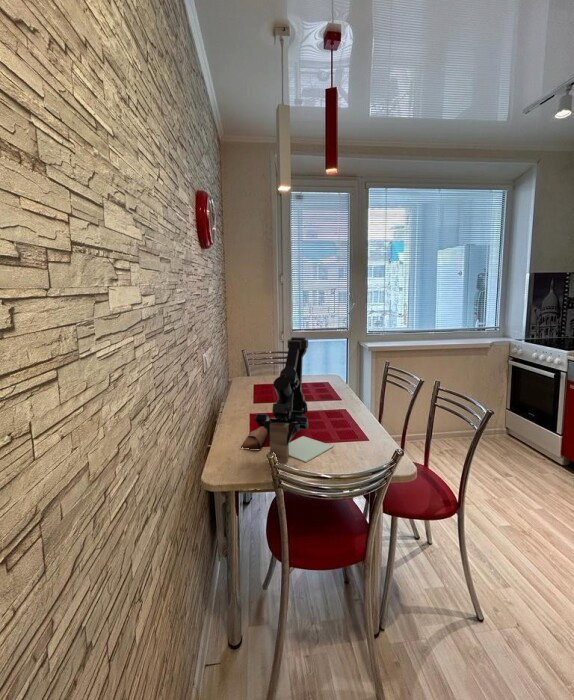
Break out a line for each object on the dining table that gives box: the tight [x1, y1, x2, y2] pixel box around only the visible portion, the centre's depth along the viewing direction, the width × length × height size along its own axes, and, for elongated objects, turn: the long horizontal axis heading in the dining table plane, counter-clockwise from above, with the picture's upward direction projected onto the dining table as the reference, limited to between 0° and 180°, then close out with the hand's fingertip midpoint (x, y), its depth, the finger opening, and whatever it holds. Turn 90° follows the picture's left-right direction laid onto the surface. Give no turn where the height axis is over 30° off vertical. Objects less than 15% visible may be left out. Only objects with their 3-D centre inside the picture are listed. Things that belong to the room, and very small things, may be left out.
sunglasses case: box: [240, 426, 268, 450], centre depth 148 cm, size 18×7×7 cm
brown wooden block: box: [269, 423, 290, 464], centre depth 130 cm, size 4×6×13 cm, turn 79°
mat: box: [289, 435, 335, 463], centre depth 140 cm, size 17×15×1 cm
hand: (278, 443), depth 129 cm, fingers closed on brown wooden block, 6 cm apart
